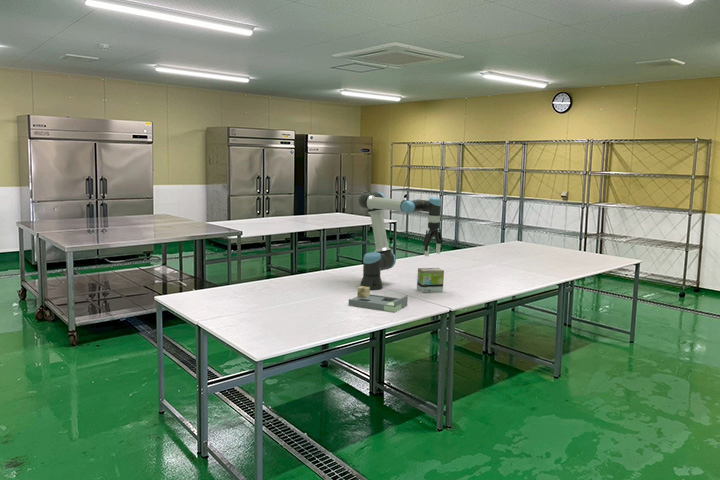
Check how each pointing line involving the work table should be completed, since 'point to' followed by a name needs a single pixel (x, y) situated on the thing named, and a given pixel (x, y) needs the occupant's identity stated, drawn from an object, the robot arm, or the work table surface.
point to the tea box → (430, 279)
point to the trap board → (380, 302)
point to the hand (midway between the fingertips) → (432, 254)
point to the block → (363, 291)
